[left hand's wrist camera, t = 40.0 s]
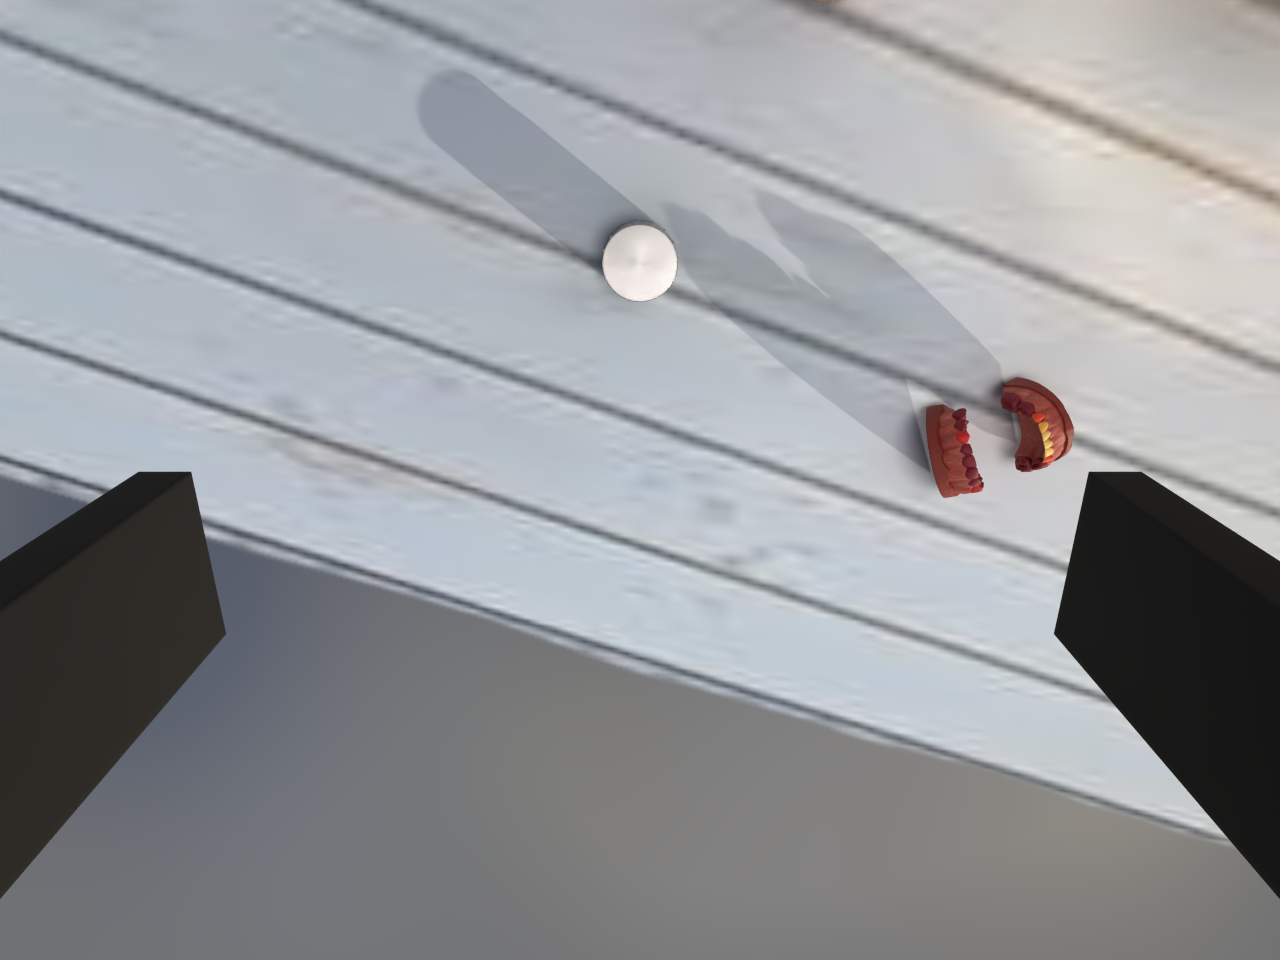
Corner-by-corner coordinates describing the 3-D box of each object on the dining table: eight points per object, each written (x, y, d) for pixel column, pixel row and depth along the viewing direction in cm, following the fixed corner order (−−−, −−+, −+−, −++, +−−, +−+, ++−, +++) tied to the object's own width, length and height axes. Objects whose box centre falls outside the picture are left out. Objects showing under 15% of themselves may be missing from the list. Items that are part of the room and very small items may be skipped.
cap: (599, 290, 47) (598, 297, 45) (607, 215, 46) (605, 219, 43) (671, 299, 47) (672, 306, 45) (681, 225, 46) (683, 228, 44)
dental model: (1090, 476, 47) (949, 520, 48) (1056, 452, 50) (927, 494, 52) (1071, 384, 45) (925, 432, 46) (1038, 367, 49) (904, 412, 50)
